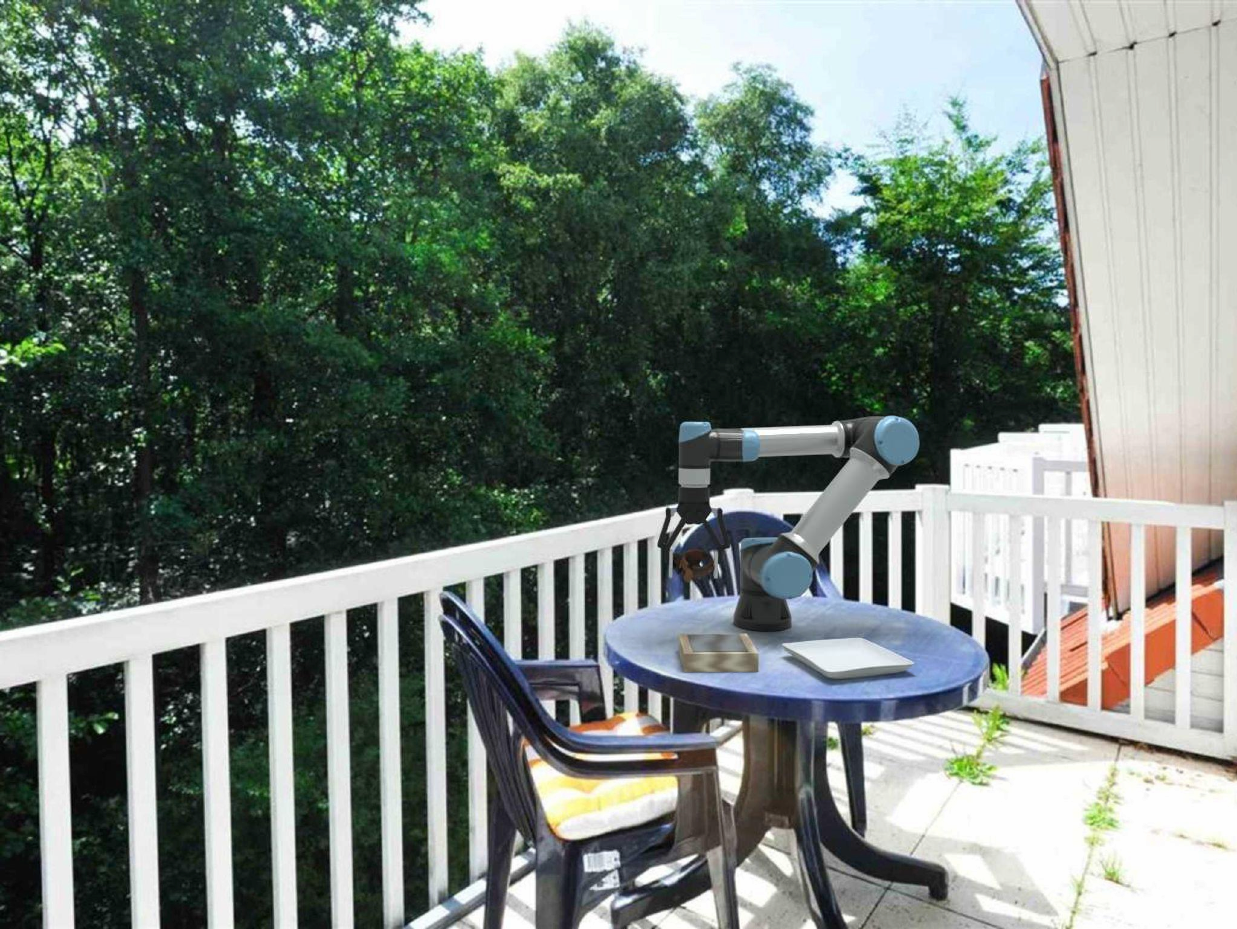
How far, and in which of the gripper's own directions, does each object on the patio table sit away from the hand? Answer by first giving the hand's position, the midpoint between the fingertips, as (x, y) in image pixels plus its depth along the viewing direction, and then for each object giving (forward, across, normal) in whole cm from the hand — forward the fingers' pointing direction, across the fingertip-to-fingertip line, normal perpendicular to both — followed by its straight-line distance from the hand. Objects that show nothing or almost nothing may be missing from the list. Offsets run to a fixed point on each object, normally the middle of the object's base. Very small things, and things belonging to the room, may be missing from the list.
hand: (693, 577), depth 202 cm
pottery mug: (+1, 0, -2) cm, 2 cm away
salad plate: (+16, -33, +18) cm, 41 cm away
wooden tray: (+16, -5, +16) cm, 23 cm away
